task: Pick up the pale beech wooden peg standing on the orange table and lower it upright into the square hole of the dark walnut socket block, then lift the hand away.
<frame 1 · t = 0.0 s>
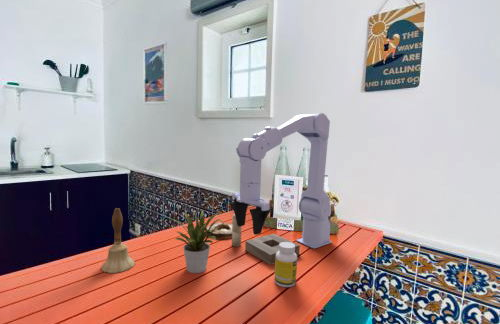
hand: (248, 229, 78), 10 cm above the table, tool pointing down, fingers open, 7 cm apart
hand bell: (118, 266, 76), on the table
beech peg: (236, 244, 93), on the table
house plant: (201, 269, 76), on the table
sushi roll: (222, 234, 103), on the table
supplement bottle: (285, 282, 70), on the table
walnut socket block: (271, 252, 88), on the table
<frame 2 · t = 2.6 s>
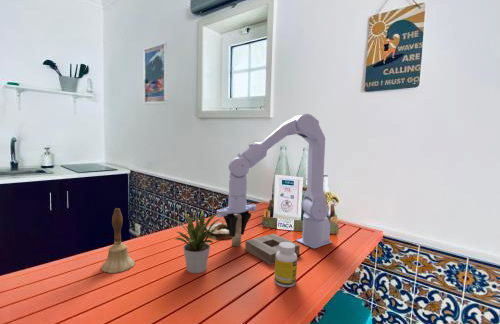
hand: (236, 234, 92), 3 cm above the table, tool pointing down, fingers closed on beech peg, 3 cm apart
beech peg: (236, 244, 93), on the table, touching gripper
everything else where it was.
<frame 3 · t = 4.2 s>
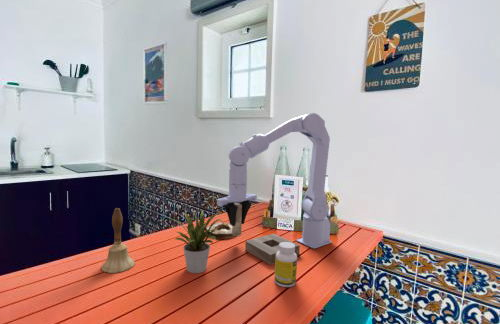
hand: (237, 224, 92), 7 cm above the table, tool pointing down, fingers closed on beech peg, 3 cm apart
beech peg: (236, 234, 92), point 4 cm above the table, touching gripper
everything else where it was.
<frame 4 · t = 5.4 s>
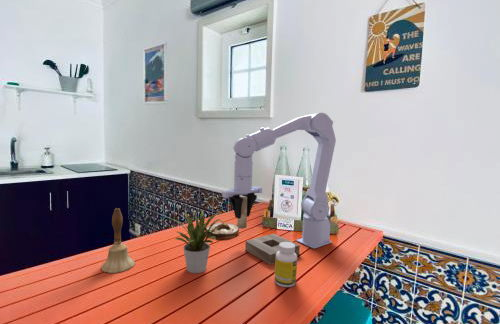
hand: (242, 216, 91), 10 cm above the table, tool pointing down, fingers closed on beech peg, 3 cm apart
beech peg: (241, 226, 91), point 6 cm above the table, touching gripper
everything else where it was.
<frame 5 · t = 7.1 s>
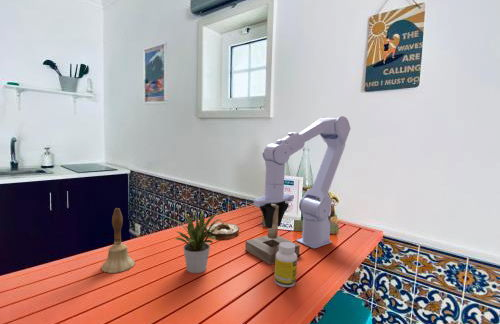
hand: (272, 226, 87), 8 cm above the table, tool pointing down, fingers closed on beech peg, 3 cm apart
beech peg: (272, 236, 87), point 5 cm above the table, touching gripper
everything else where it was.
when the fingers open (5 cm above the table, at t = 8.5 s): beech peg drops 2 cm, resting in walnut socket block.
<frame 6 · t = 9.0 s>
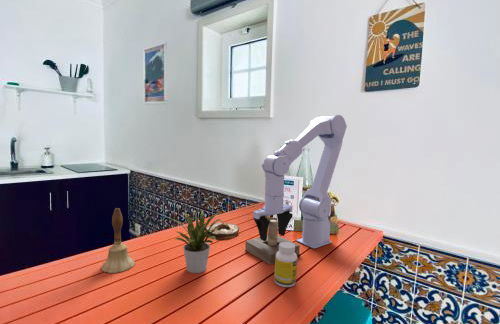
hand: (272, 237, 87), 5 cm above the table, tool pointing down, fingers open, 7 cm apart
beech peg: (272, 252, 88), resting in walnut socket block
everything else where it was.
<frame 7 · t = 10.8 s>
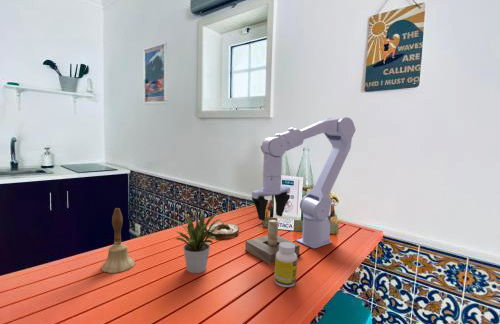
hand: (270, 217, 89), 10 cm above the table, tool pointing down, fingers open, 7 cm apart
nothing on the table moved.
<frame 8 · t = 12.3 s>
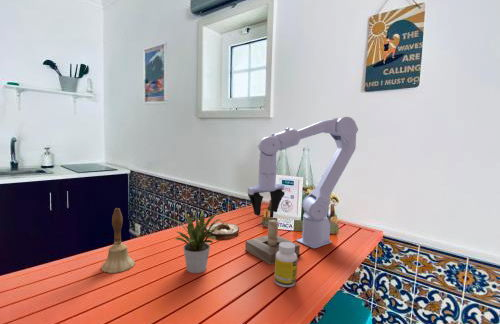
hand: (265, 213, 94), 10 cm above the table, tool pointing down, fingers open, 7 cm apart
nothing on the table moved.
at the end: beech peg 0.0 cm off-centre on the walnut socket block, point 0.0 cm above the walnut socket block's base; beech peg tilted 0°; the gripper is holding nothing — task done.
